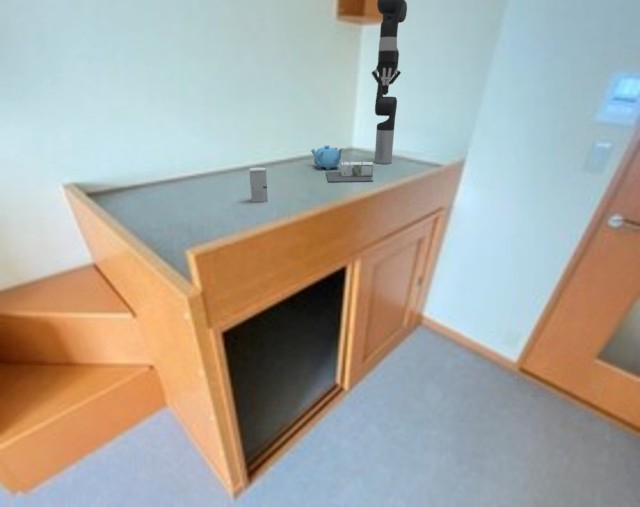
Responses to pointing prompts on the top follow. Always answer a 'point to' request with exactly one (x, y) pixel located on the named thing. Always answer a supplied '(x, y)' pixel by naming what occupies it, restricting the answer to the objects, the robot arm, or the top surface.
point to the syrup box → (357, 169)
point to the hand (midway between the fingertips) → (384, 94)
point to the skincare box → (258, 184)
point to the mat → (346, 178)
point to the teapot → (327, 157)
